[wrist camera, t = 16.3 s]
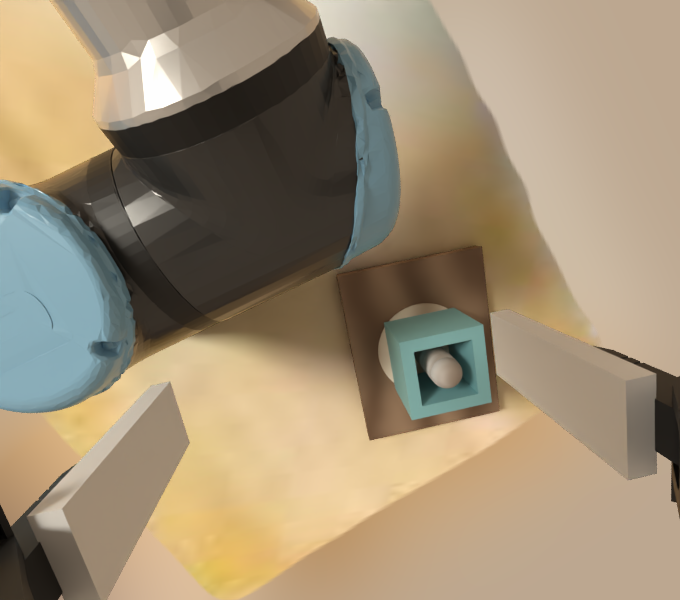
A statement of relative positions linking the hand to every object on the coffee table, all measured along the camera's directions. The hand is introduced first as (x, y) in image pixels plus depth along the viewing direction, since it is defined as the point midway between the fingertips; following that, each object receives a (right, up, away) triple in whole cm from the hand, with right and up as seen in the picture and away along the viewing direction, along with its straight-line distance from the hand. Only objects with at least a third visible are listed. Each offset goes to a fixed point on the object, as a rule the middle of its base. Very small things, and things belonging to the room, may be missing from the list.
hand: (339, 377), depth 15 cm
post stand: (+9, -2, +29) cm, 30 cm away
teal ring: (+9, -2, +27) cm, 29 cm away
